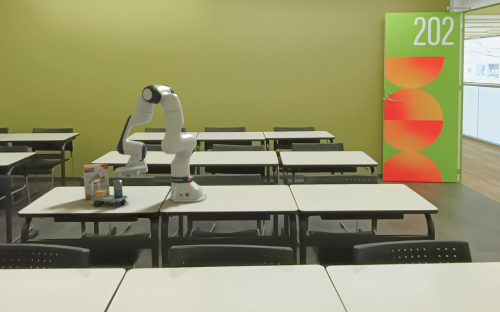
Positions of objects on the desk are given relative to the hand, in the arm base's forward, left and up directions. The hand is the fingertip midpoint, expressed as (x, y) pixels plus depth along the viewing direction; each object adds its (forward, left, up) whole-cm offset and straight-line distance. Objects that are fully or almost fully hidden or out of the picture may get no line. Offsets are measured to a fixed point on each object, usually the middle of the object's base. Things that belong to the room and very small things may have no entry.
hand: (128, 175), depth 283 cm
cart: (+7, +11, -15) cm, 20 cm away
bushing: (+1, +11, -11) cm, 15 cm away
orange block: (+12, +11, -11) cm, 20 cm away
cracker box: (+23, -3, -16) cm, 28 cm away
